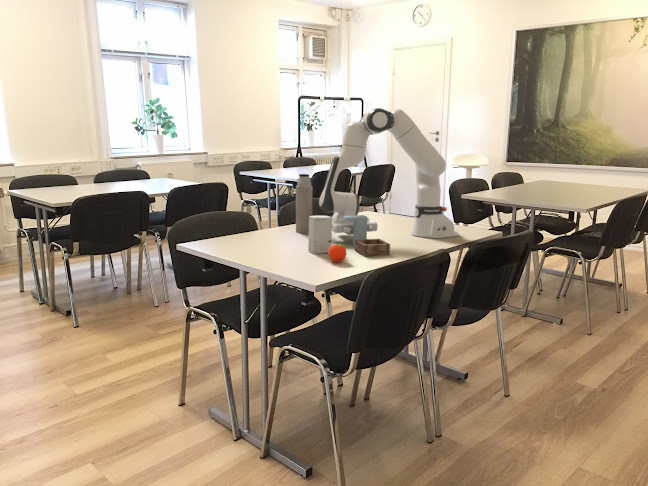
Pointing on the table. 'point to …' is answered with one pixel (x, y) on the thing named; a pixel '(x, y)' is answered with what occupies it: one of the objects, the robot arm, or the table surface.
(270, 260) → the table surface
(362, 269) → the table surface
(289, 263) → the table surface
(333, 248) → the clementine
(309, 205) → the thermos bottle
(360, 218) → the bracket
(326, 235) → the skincare box
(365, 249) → the well block
